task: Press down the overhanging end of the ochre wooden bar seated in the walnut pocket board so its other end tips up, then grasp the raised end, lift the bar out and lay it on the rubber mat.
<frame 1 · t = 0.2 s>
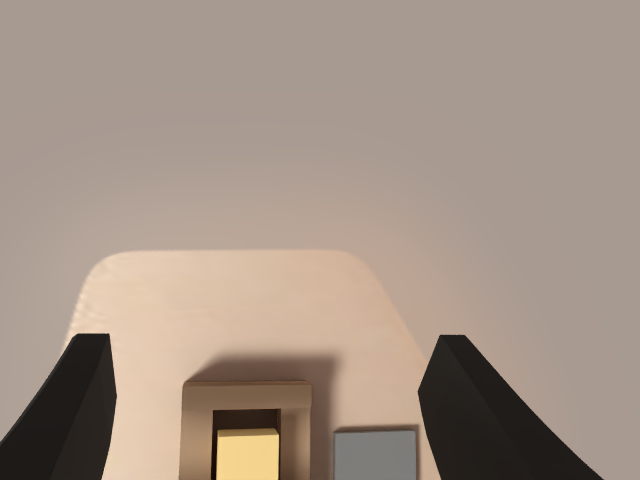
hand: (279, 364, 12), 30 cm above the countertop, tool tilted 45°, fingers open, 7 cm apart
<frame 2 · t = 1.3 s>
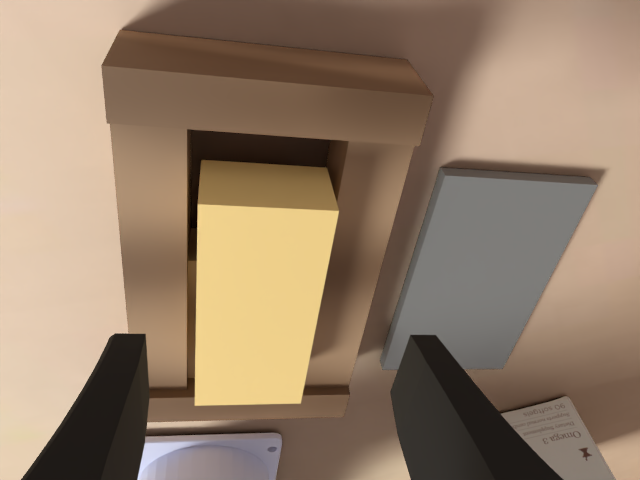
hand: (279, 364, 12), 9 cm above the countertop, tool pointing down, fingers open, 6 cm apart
mat: (473, 278, 25), on the countertop
supplement box: (505, 437, 34), on the countertop
pocket board: (253, 230, 21), on the countertop
bar: (255, 271, 20), point 2 cm above the countertop, touching pocket board
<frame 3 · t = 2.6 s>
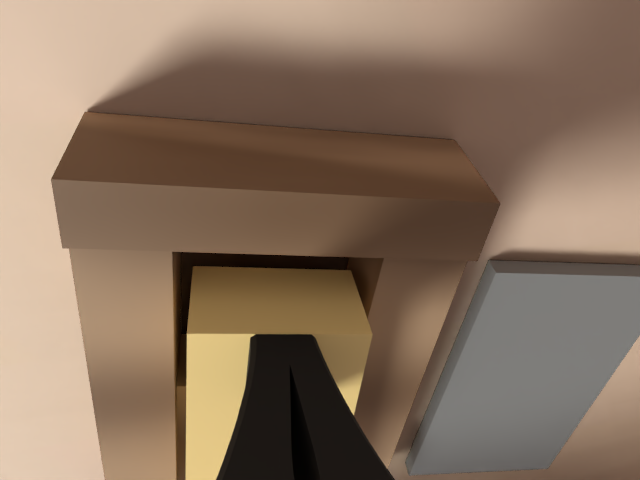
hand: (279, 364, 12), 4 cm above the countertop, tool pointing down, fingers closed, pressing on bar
mat: (519, 376, 21), on the countertop
pocket board: (258, 334, 18), on the countertop
bar: (260, 394, 16), point 2 cm above the countertop, tilted 5°, touching gripper, pocket board
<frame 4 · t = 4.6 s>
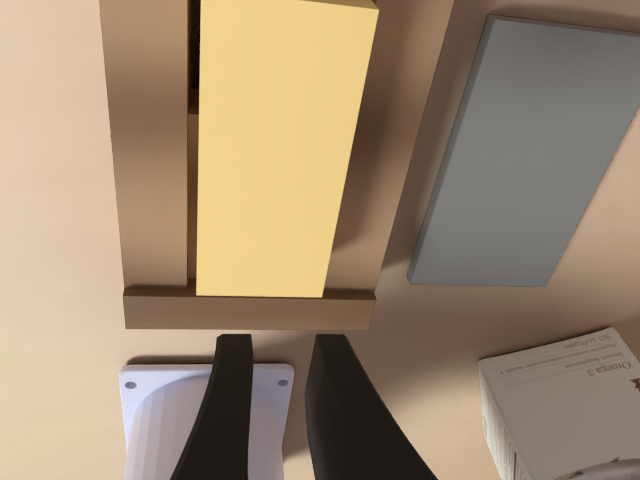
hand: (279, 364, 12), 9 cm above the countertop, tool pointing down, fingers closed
mat: (518, 170, 21), on the countertop
supplement box: (539, 378, 30), on the countertop
pocket board: (266, 94, 18), on the countertop
bar: (268, 132, 17), point 2 cm above the countertop, touching pocket board
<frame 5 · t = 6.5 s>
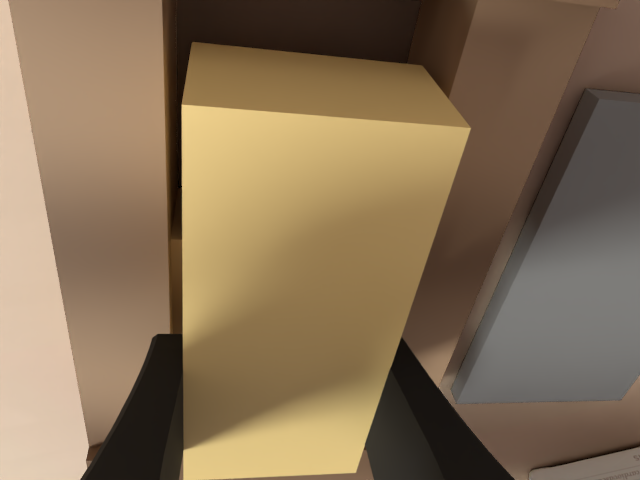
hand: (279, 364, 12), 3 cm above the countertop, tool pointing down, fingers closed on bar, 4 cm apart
mat: (601, 272, 17), on the countertop
pocket board: (279, 193, 13), on the countertop
bar: (284, 258, 12), point 2 cm above the countertop, touching gripper, pocket board
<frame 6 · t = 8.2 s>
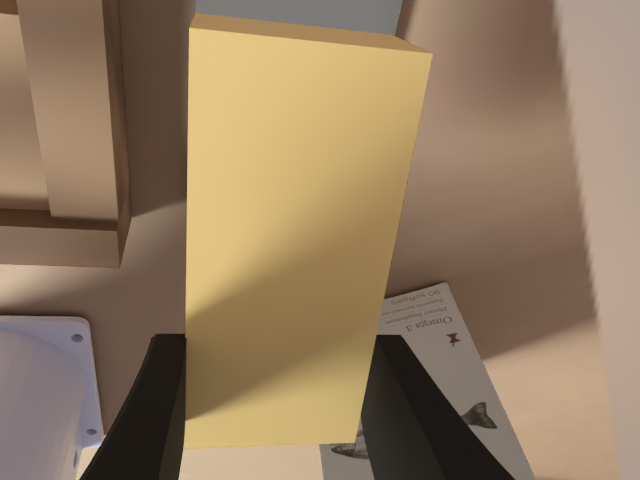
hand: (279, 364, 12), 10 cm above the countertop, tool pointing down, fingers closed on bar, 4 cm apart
mat: (287, 91, 19), on the countertop
supplement box: (381, 341, 28), on the countertop
bar: (278, 225, 13), point 8 cm above the countertop, tilted 10°, touching gripper
when the fingers open (5 cm above the countertop, at t = 9.8 s): bar drops 1 cm, resting on mat.
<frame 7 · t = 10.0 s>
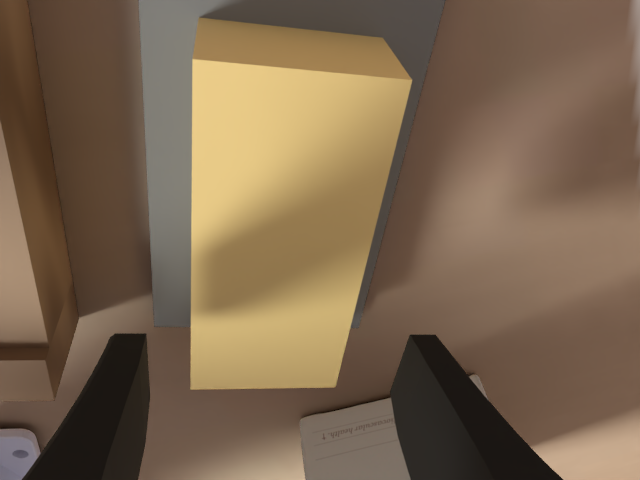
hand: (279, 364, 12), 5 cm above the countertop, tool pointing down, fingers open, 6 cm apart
mat: (275, 164, 14), on the countertop
supplement box: (396, 436, 24), on the countertop
bar: (274, 202, 14), point 1 cm above the countertop, touching mat
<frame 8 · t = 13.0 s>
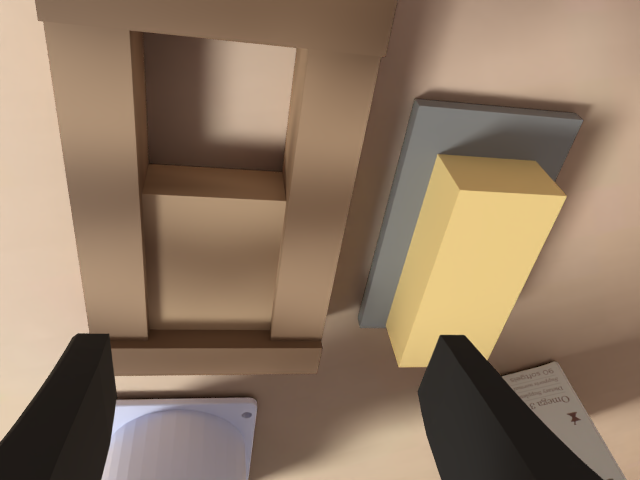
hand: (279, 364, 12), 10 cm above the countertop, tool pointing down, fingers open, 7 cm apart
mat: (454, 227, 23), on the countertop
supplement box: (492, 407, 32), on the countertop
pocket board: (216, 167, 20), on the countertop
bar: (453, 250, 23), point 1 cm above the countertop, touching mat
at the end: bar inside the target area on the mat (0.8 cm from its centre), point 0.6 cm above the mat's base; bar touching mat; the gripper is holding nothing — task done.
